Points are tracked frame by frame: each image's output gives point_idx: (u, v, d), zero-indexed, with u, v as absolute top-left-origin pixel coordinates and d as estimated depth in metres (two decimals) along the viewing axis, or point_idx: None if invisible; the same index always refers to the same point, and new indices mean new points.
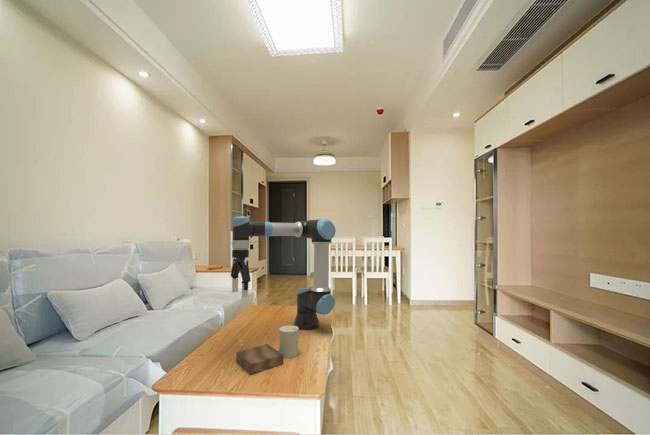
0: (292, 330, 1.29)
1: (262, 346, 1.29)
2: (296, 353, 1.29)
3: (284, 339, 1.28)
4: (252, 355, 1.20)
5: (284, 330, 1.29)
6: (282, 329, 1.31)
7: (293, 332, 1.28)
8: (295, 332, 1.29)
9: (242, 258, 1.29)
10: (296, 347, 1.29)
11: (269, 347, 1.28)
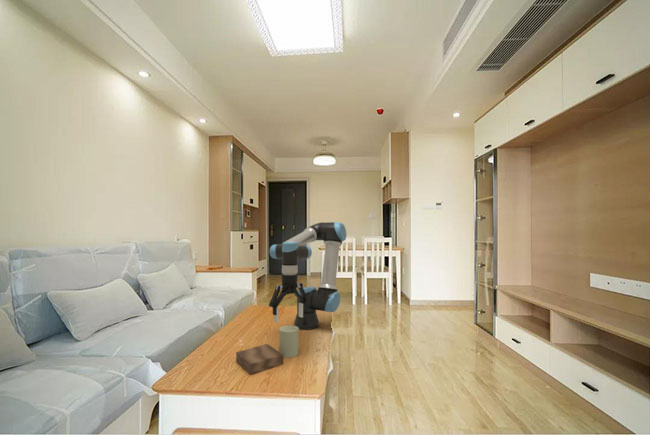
0: (292, 330, 1.29)
1: (262, 346, 1.29)
2: (296, 353, 1.29)
3: (284, 339, 1.28)
4: (252, 355, 1.20)
5: (284, 330, 1.29)
6: (282, 329, 1.31)
7: (293, 332, 1.28)
8: (295, 332, 1.29)
9: (282, 283, 1.31)
10: (296, 347, 1.29)
11: (269, 347, 1.28)
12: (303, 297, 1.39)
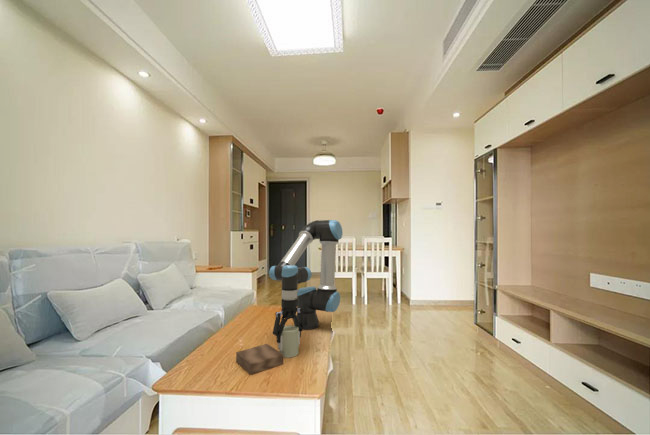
0: (292, 330, 1.29)
1: (262, 346, 1.29)
2: (296, 353, 1.29)
3: (284, 339, 1.28)
4: (252, 355, 1.20)
5: (284, 330, 1.29)
6: None
7: (293, 332, 1.28)
8: (295, 332, 1.29)
9: None
10: (296, 347, 1.29)
11: (269, 347, 1.28)
12: (300, 324, 1.37)
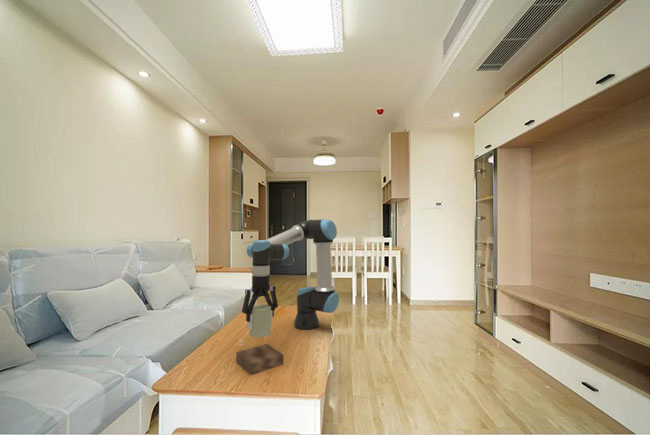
0: (263, 308, 1.21)
1: (262, 346, 1.29)
2: (267, 333, 1.20)
3: (254, 317, 1.19)
4: (252, 355, 1.20)
5: (254, 308, 1.21)
6: (253, 307, 1.22)
7: (264, 310, 1.19)
8: (266, 310, 1.20)
9: None
10: (267, 326, 1.21)
11: (269, 347, 1.28)
12: (273, 303, 1.28)
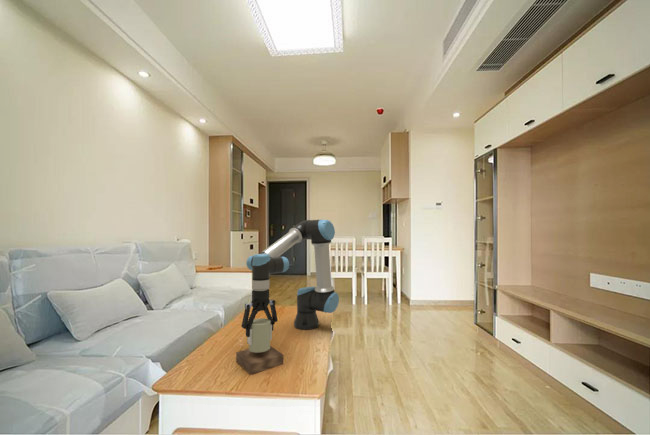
0: (263, 323, 1.20)
1: None
2: (267, 348, 1.20)
3: (253, 332, 1.18)
4: (252, 355, 1.20)
5: (254, 323, 1.20)
6: None
7: (263, 325, 1.19)
8: (266, 325, 1.20)
9: None
10: (267, 341, 1.20)
11: None
12: (273, 316, 1.28)
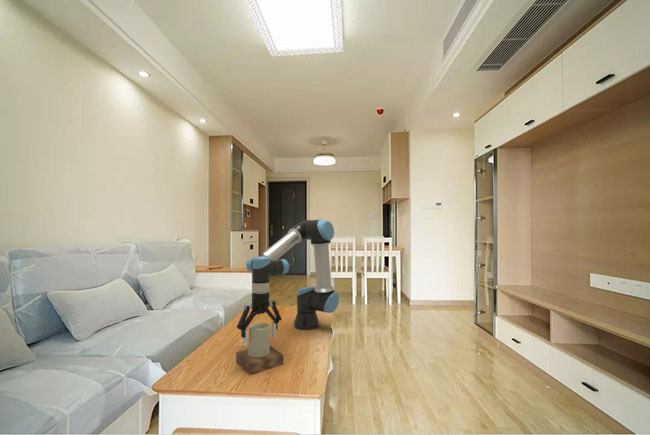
0: (262, 328, 1.20)
1: None
2: (266, 353, 1.20)
3: (253, 337, 1.18)
4: None
5: (254, 328, 1.20)
6: (252, 327, 1.22)
7: (263, 330, 1.19)
8: (265, 330, 1.20)
9: (252, 302, 1.21)
10: (266, 346, 1.20)
11: None
12: None
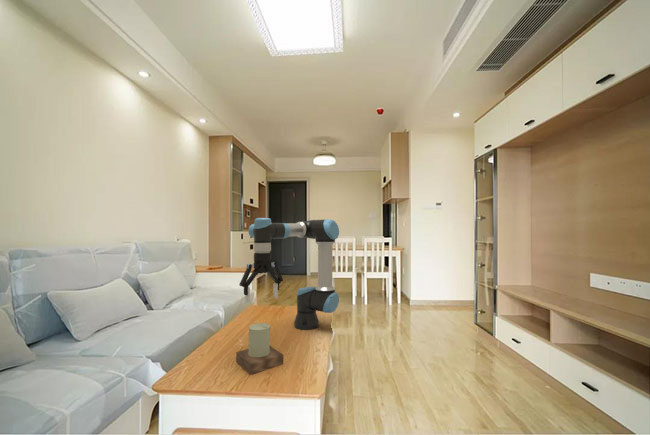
0: (262, 328, 1.20)
1: None
2: (266, 353, 1.20)
3: (253, 337, 1.18)
4: None
5: (253, 328, 1.20)
6: (252, 327, 1.22)
7: (263, 330, 1.19)
8: (265, 330, 1.20)
9: (254, 261, 1.23)
10: (266, 346, 1.20)
11: None
12: (278, 277, 1.31)
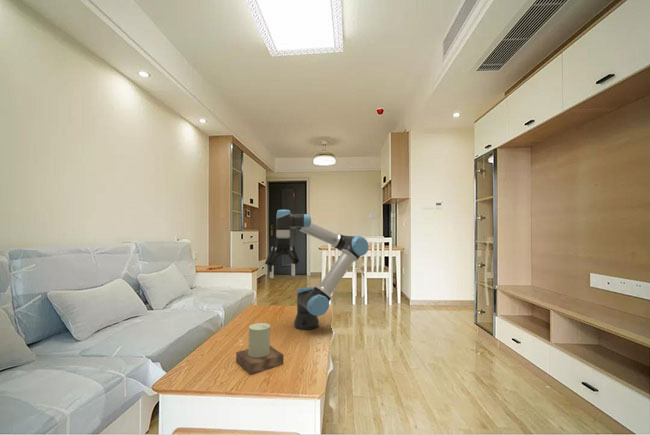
0: (262, 328, 1.20)
1: None
2: (266, 353, 1.20)
3: (253, 337, 1.18)
4: None
5: (253, 328, 1.20)
6: (252, 327, 1.22)
7: (263, 330, 1.19)
8: (265, 330, 1.20)
9: (276, 245, 1.51)
10: (266, 346, 1.20)
11: None
12: (295, 259, 1.59)
